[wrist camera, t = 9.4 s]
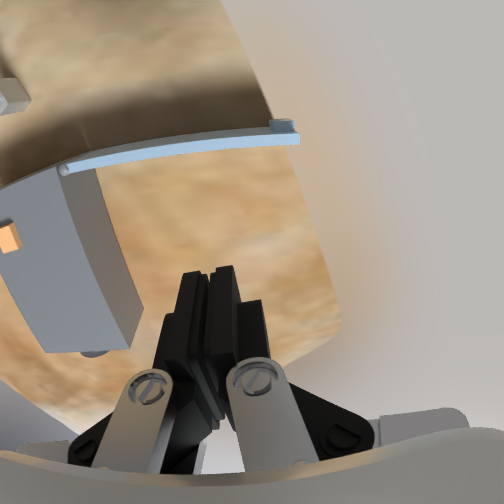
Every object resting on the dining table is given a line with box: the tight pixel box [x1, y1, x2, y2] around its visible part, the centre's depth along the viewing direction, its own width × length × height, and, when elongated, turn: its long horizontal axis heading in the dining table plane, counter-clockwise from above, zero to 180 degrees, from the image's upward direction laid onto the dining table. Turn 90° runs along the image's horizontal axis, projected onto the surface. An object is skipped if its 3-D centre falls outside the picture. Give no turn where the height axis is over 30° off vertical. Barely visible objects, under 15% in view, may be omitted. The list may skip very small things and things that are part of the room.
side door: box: [59, 119, 300, 176], centre depth 24 cm, size 2×19×7 cm, turn 94°
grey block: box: [0, 151, 144, 358], centre depth 28 cm, size 12×21×8 cm, turn 10°
